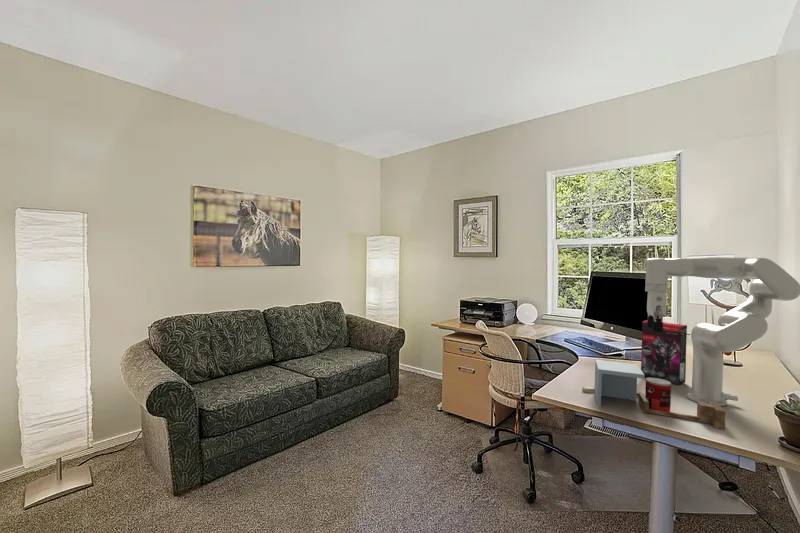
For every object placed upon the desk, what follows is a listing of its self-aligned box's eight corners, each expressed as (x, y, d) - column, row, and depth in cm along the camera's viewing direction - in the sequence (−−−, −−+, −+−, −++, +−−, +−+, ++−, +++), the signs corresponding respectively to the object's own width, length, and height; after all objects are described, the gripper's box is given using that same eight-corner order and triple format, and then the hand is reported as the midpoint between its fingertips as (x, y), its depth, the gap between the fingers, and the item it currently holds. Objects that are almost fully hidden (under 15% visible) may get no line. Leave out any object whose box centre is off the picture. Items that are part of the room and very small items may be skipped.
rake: (709, 412, 139) (709, 396, 139) (724, 429, 126) (725, 411, 125) (638, 402, 148) (638, 387, 148) (645, 416, 135) (646, 399, 135)
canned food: (645, 403, 147) (646, 376, 147) (670, 408, 143) (671, 380, 142) (644, 409, 141) (645, 381, 141) (669, 415, 136) (671, 385, 136)
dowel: (610, 392, 161) (610, 387, 160) (612, 393, 159) (613, 389, 158) (582, 391, 161) (582, 386, 161) (584, 393, 159) (584, 388, 159)
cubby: (635, 399, 151) (637, 364, 151) (643, 413, 137) (644, 374, 137) (594, 393, 157) (595, 359, 157) (597, 406, 144) (598, 369, 143)
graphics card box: (639, 375, 184) (641, 320, 183) (646, 373, 188) (648, 319, 187) (679, 385, 170) (681, 326, 169) (686, 383, 173) (688, 325, 173)
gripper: (673, 290, 143) (671, 334, 144) (661, 287, 159) (659, 327, 160) (650, 289, 146) (648, 332, 147) (641, 286, 162) (639, 325, 163)
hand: (654, 329), depth 153 cm, fingers open, 9 cm apart
